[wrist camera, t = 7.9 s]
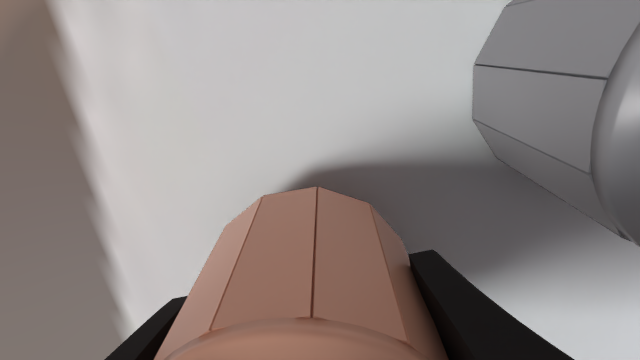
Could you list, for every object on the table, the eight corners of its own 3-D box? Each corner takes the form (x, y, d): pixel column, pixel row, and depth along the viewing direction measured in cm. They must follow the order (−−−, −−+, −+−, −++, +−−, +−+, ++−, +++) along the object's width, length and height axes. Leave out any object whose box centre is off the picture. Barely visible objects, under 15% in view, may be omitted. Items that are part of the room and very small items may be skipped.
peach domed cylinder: (439, 224, 9) (551, 400, 5) (362, 359, 12) (387, 570, 7) (241, 159, 9) (147, 291, 4) (198, 316, 11) (106, 518, 6)
